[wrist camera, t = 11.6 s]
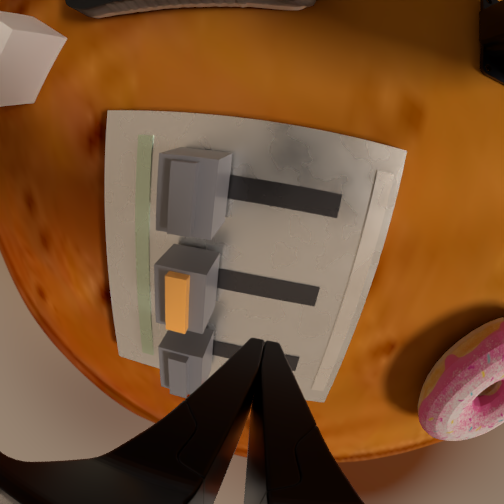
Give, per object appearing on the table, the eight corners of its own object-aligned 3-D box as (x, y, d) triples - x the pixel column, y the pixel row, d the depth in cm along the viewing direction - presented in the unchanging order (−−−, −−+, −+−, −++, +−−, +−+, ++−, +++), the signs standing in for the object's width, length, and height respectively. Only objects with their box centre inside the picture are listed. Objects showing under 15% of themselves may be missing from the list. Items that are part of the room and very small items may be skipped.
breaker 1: (232, 153, 17) (215, 161, 14) (224, 221, 18) (207, 244, 15) (181, 147, 17) (153, 154, 14) (176, 213, 19) (150, 234, 15)
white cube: (4, 75, 18) (-46, 78, 13) (33, 16, 16) (-17, 8, 10) (34, 103, 19) (-21, 109, 13) (68, 38, 17) (12, 29, 11)
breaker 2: (214, 330, 22) (200, 364, 19) (211, 369, 23) (198, 403, 20) (173, 320, 22) (154, 352, 19) (174, 360, 24) (158, 391, 20)
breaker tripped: (220, 252, 19) (203, 280, 16) (215, 306, 21) (199, 340, 18) (173, 243, 20) (149, 269, 16) (172, 297, 21) (151, 328, 18)
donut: (423, 428, 26) (431, 465, 22) (397, 352, 23) (410, 397, 18) (527, 375, 22) (544, 406, 18) (530, 281, 19) (560, 313, 14)
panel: (399, 148, 17) (407, 151, 15) (323, 389, 25) (324, 403, 24) (119, 109, 18) (106, 110, 17) (126, 345, 27) (118, 356, 25)
